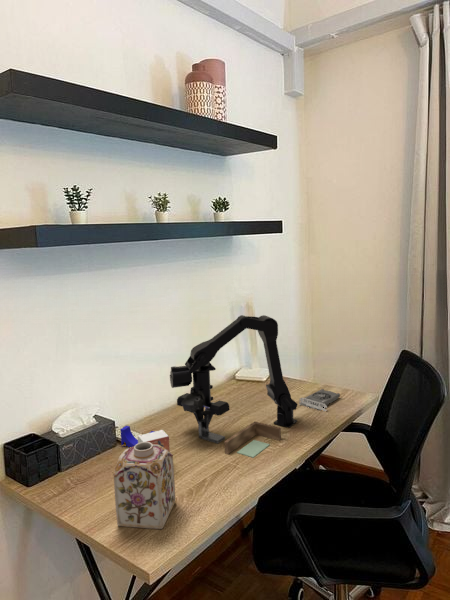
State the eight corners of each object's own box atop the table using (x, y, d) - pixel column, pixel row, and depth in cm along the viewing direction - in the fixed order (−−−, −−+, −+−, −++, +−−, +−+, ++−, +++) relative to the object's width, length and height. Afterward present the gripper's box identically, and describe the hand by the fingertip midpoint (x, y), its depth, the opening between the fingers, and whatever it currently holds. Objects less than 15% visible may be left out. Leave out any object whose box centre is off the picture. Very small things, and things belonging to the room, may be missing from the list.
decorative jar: (176, 501, 118) (173, 436, 116) (163, 530, 107) (159, 458, 104) (132, 499, 120) (128, 434, 118) (115, 527, 109) (109, 456, 106)
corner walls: (255, 432, 158) (254, 421, 157) (280, 439, 152) (280, 427, 151) (224, 453, 143) (224, 441, 143) (252, 461, 138) (251, 449, 137)
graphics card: (325, 405, 172) (298, 397, 180) (325, 414, 173) (298, 406, 181) (347, 393, 184) (321, 386, 192) (346, 402, 185) (320, 395, 193)
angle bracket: (198, 438, 155) (198, 421, 154) (206, 433, 158) (205, 417, 157) (217, 443, 150) (217, 426, 149) (224, 439, 154) (224, 422, 153)
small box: (145, 477, 131) (142, 442, 130) (139, 468, 136) (136, 435, 135) (171, 469, 135) (169, 435, 133) (164, 461, 140) (162, 428, 138)
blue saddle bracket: (159, 447, 150) (158, 429, 149) (151, 453, 146) (149, 435, 145) (130, 440, 155) (129, 423, 154) (121, 446, 151) (120, 429, 151)
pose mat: (254, 440, 151) (254, 439, 151) (269, 445, 148) (269, 444, 148) (236, 452, 143) (236, 452, 143) (253, 457, 140) (253, 456, 140)
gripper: (164, 386, 153) (167, 430, 155) (208, 395, 142) (210, 443, 144) (186, 376, 161) (188, 419, 164) (229, 385, 151) (231, 430, 153)
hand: (203, 427), depth 156 cm, fingers closed
